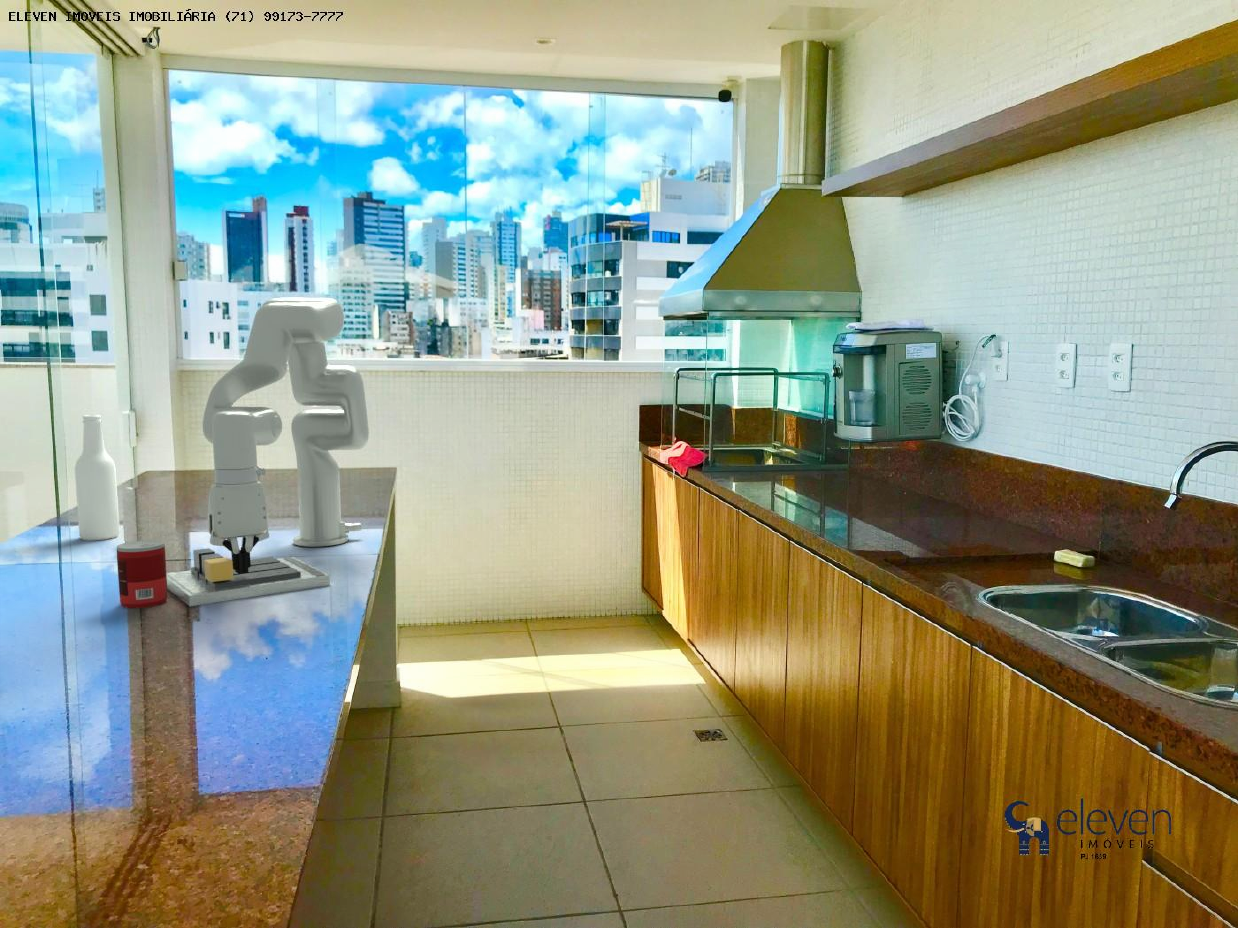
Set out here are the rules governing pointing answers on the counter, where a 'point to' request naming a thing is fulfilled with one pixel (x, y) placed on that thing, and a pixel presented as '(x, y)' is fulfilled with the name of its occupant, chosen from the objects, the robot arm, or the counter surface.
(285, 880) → the counter surface
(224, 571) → the mustard yellow cube
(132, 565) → the canned food
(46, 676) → the counter surface
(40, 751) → the counter surface
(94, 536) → the alcohol
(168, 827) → the counter surface
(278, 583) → the panel
